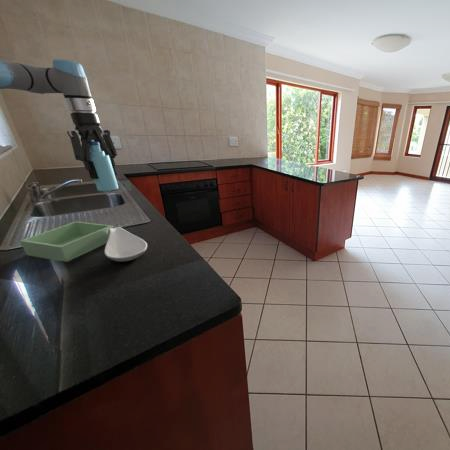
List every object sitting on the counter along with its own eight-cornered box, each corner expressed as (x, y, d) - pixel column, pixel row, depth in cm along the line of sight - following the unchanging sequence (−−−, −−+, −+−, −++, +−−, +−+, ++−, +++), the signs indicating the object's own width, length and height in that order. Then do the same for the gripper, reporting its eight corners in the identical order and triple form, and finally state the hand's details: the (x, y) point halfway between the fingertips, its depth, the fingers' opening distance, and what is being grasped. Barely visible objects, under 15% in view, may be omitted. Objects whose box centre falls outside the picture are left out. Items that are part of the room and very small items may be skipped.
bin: (27, 256, 81) (19, 240, 78) (81, 235, 96) (76, 221, 94) (67, 263, 77) (60, 246, 75) (117, 239, 93) (112, 225, 90)
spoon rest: (154, 257, 82) (149, 238, 79) (113, 271, 73) (106, 251, 71) (132, 235, 96) (127, 219, 93) (96, 245, 88) (89, 228, 85)
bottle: (93, 190, 93) (76, 142, 86) (109, 186, 99) (95, 140, 92) (107, 191, 92) (90, 142, 84) (122, 187, 98) (109, 141, 90)
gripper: (60, 111, 75) (85, 182, 84) (117, 113, 92) (133, 172, 101) (42, 111, 76) (69, 181, 85) (102, 113, 94) (119, 171, 103)
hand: (104, 176), depth 93 cm, fingers closed on bottle, 7 cm apart
